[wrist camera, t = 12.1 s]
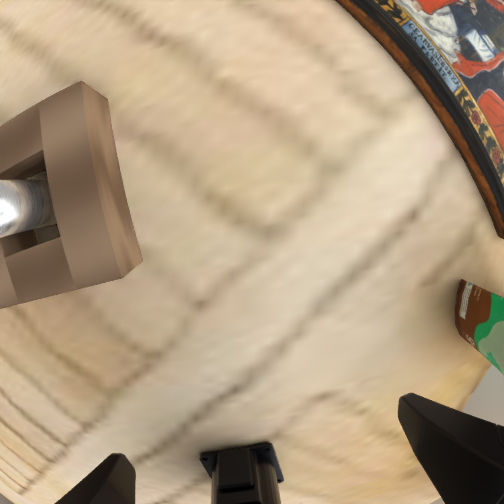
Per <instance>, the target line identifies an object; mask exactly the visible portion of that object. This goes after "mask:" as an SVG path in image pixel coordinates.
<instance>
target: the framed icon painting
mask: <svg viewBox="0 0 504 504" xmlns="http://www.w3.org/2000/svg"><path fill="white" fill-rule="evenodd" d="M336 1H337V2H338V3H339V4H340V5H341V6H342V7H343V8H345V9H346V10H347V11H348V12H349V13H350V14H351V15H352V16H353V17H354V18H355V19H356V20H357V21H358V22H359V23H360V24H361V25H362V26H363V27H364V28H365V29H366V30H367V31H368V32H369V33H370V34H371V35H372V36H373V37H374V38H375V39H376V40H377V41H378V42H379V43H380V44H381V45H382V46H383V47H384V48H385V49H386V51H387V52H388V53H389V54H390V55H391V56H392V57H393V59H394V60H395V61H396V62H397V63H398V65H399V66H400V67H401V68H402V69H403V71H404V72H405V73H406V74H407V76H408V77H409V78H410V79H411V80H412V82H413V83H414V84H415V86H416V87H417V88H418V90H419V91H420V92H421V94H422V95H423V96H424V98H425V99H426V101H427V102H428V103H429V105H430V106H431V108H432V109H433V111H434V112H435V114H436V115H437V117H438V119H439V120H440V122H441V123H442V125H443V126H444V128H445V130H446V131H447V133H448V135H449V136H450V138H451V140H452V141H453V143H454V145H455V146H456V148H457V149H458V150H459V152H460V154H461V156H462V158H463V159H464V161H465V163H466V165H467V167H468V169H469V171H470V173H471V175H472V177H473V179H474V181H475V183H476V185H477V187H478V189H479V191H480V194H481V196H482V198H483V200H484V202H485V204H486V207H487V209H488V211H489V213H490V216H491V218H492V221H493V223H494V226H495V229H496V232H497V234H498V236H499V237H500V238H502V239H504V0H336Z"/></svg>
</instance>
